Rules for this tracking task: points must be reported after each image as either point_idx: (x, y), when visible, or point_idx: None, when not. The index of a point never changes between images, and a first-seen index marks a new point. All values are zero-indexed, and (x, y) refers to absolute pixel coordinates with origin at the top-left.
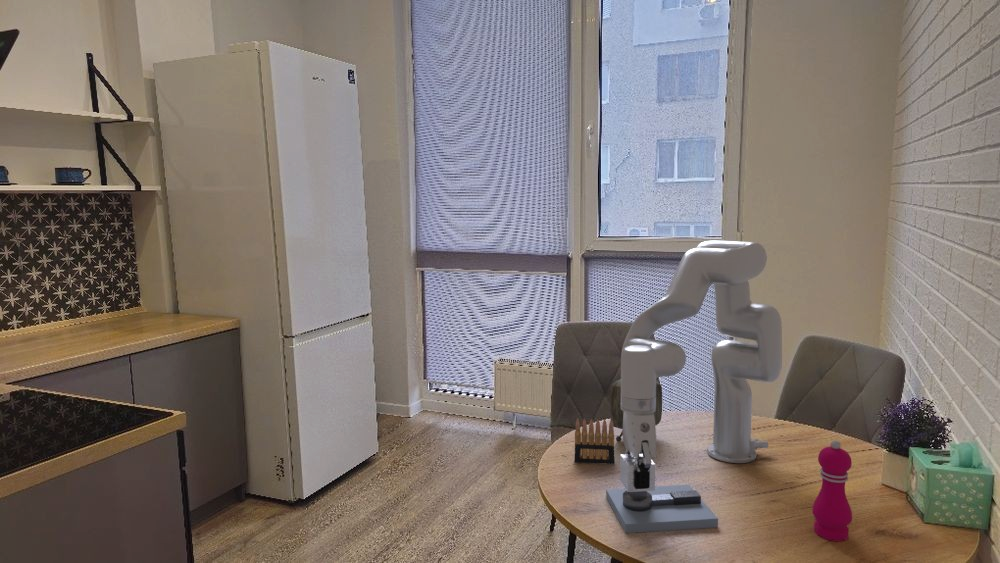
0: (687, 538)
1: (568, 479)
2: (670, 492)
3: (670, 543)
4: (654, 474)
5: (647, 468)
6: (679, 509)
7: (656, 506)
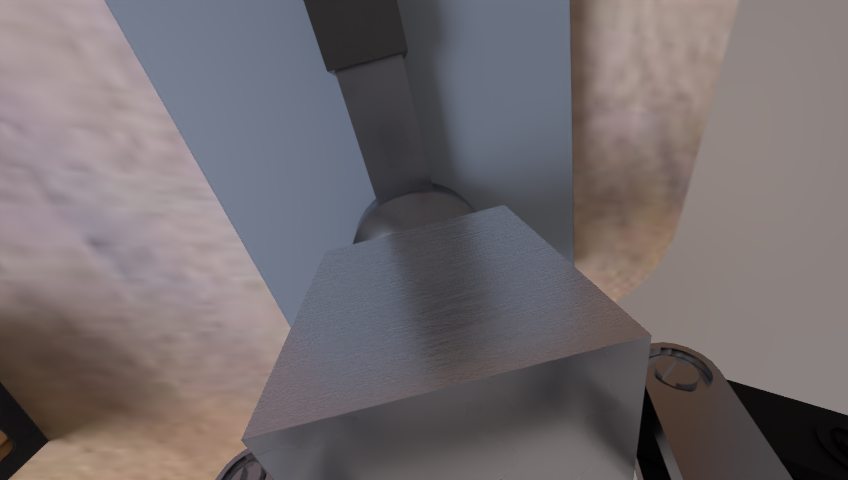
0: (616, 32)
1: (214, 435)
2: (333, 70)
3: (639, 117)
4: (566, 263)
5: (790, 418)
6: (450, 33)
7: (429, 161)
